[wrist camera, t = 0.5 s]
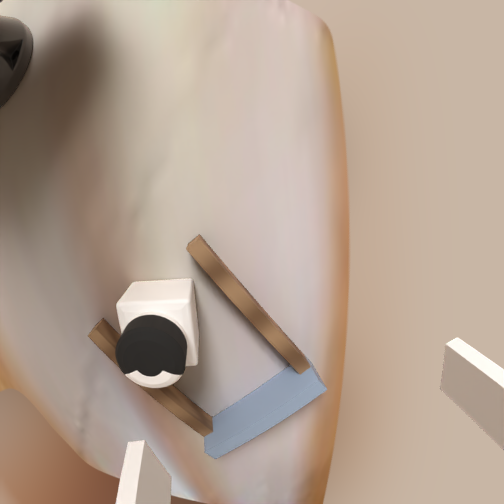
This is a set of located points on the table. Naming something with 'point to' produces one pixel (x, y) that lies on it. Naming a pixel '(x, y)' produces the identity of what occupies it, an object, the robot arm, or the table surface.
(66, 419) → the table surface
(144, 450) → the robot arm
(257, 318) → the guide channel
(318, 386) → the end stop
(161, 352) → the medicine bottle
